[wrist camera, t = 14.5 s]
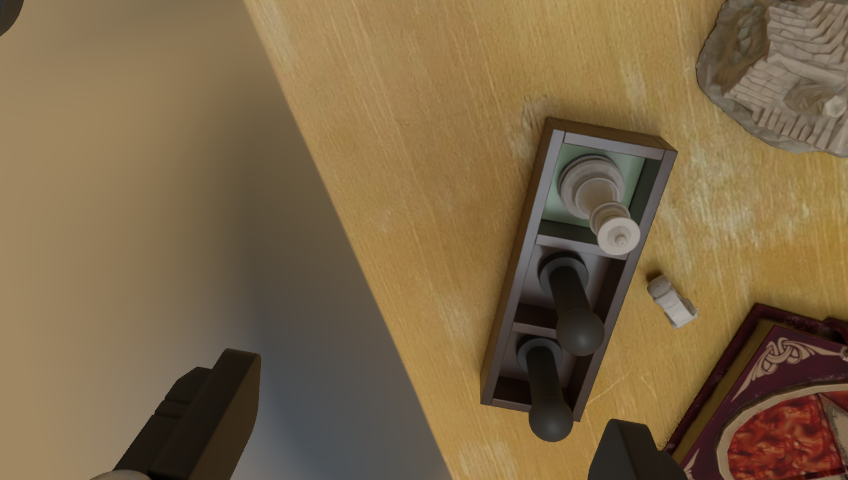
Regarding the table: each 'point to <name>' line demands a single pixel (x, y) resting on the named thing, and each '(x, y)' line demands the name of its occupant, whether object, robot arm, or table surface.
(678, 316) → the white ring
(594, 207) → the chess piece
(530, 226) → the rack
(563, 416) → the pawn
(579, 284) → the pawn
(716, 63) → the ceramic cottage
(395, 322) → the table surface
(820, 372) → the book
